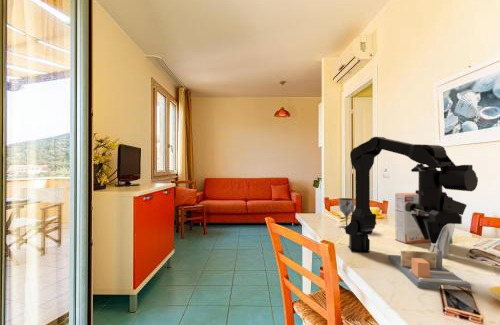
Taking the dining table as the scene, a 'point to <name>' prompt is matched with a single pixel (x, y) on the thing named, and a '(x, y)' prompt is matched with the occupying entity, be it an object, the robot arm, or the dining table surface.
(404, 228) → the cracker box
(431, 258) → the two-tone tan block
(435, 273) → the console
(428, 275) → the fader
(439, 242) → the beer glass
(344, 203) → the wine glass
